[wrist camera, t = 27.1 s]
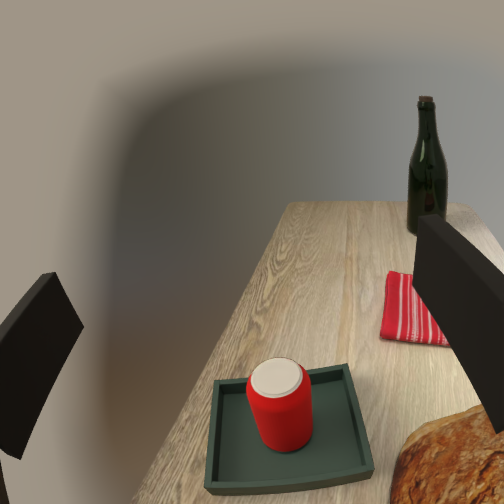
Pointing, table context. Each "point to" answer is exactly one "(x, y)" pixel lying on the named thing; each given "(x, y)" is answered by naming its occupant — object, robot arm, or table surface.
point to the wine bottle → (427, 169)
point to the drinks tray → (292, 462)
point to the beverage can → (281, 403)
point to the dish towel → (407, 313)
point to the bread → (451, 462)
